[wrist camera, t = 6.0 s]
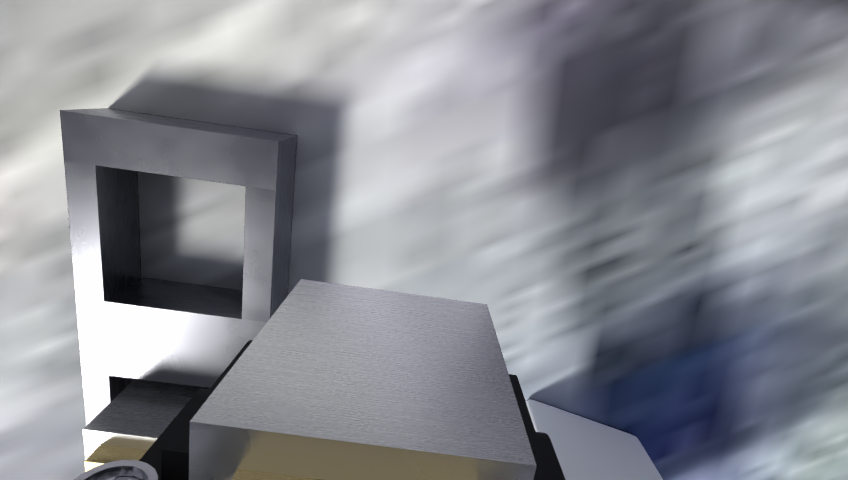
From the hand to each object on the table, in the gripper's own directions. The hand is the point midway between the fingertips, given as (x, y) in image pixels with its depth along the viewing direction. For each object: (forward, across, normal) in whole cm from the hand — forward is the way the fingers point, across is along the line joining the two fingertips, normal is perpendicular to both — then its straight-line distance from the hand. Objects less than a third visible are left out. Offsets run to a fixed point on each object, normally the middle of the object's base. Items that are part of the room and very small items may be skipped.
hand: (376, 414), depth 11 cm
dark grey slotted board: (+13, +10, +5) cm, 18 cm away
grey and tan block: (+2, 0, 0) cm, 2 cm away
